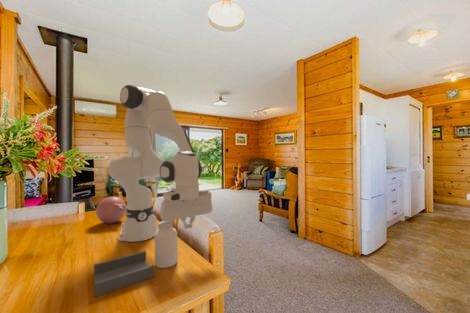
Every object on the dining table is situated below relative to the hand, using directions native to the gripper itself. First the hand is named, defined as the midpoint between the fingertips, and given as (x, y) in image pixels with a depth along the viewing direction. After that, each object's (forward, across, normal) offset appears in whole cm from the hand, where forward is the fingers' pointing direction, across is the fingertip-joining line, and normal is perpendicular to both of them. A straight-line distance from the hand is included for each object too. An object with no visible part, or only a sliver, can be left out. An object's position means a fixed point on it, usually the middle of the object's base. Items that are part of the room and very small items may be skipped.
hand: (188, 227), depth 81 cm
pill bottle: (+11, +8, 0) cm, 14 cm away
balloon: (+11, +20, -63) cm, 67 cm away
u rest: (+11, +22, 0) cm, 25 cm away
